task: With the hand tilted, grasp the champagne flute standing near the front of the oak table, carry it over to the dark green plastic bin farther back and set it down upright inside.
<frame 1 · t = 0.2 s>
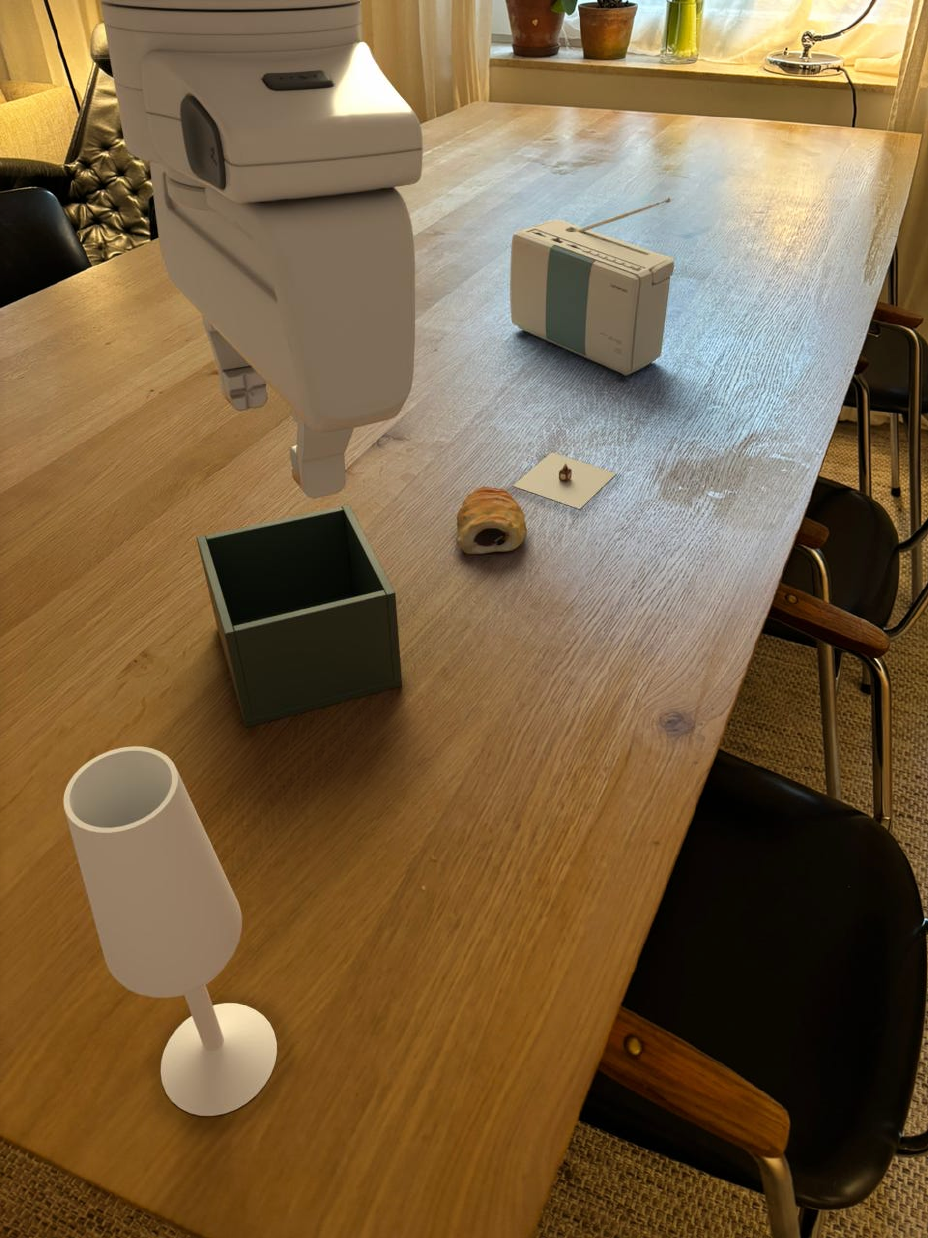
hand: (280, 443, 44), 34 cm above the table, tool pointing down, fingers open, 8 cm apart
beige flat slab: (564, 481, 105), on the table
radio: (585, 348, 129), on the table
champagne flute: (219, 1059, 58), on the table
bin: (306, 656, 84), on the table
pastry: (488, 534, 97), on the table
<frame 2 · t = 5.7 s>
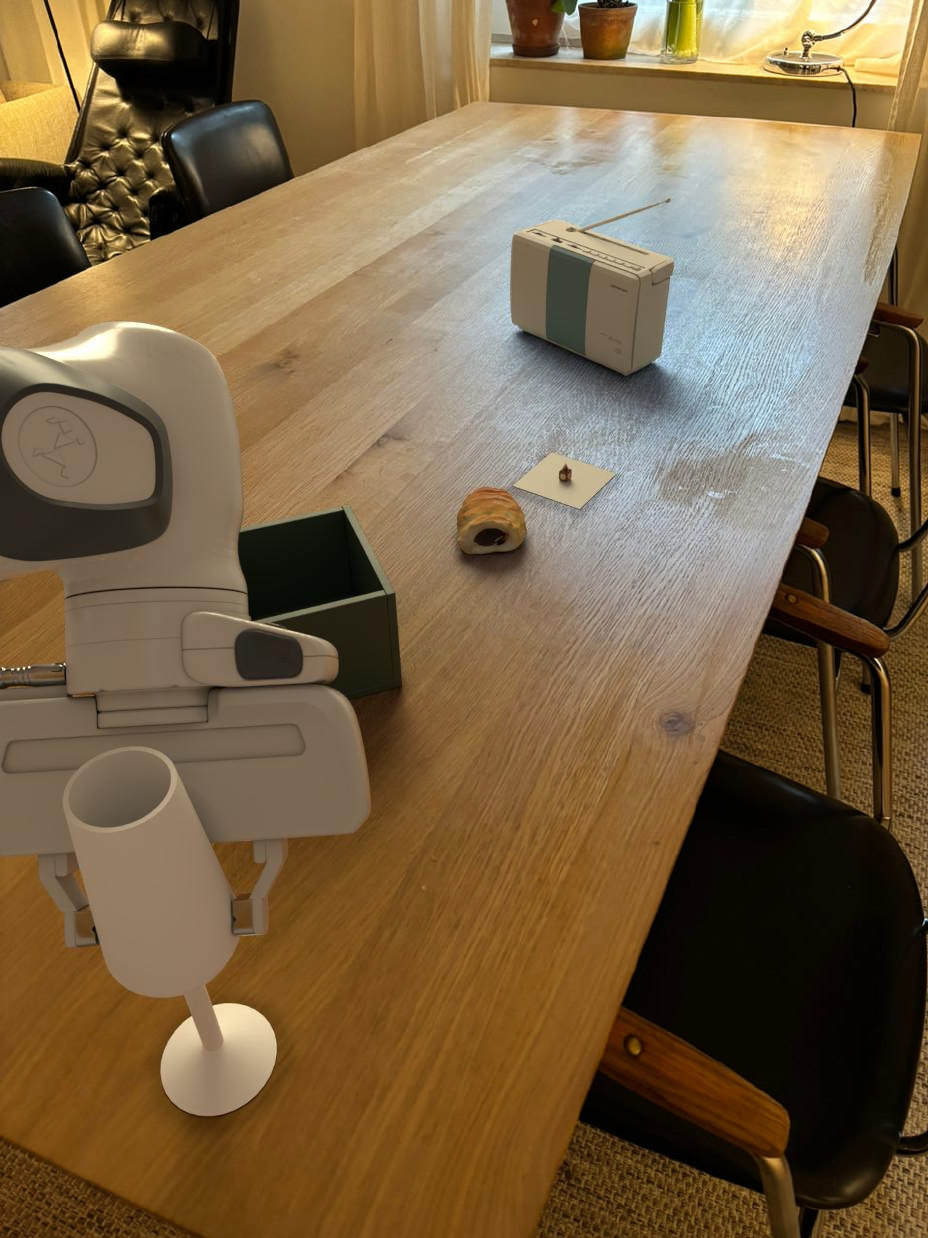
hand: (170, 939, 48), 13 cm above the table, tool tilted 45°, fingers closed on champagne flute, 6 cm apart
champagne flute: (219, 1059, 58), on the table, touching gripper
everything else where it was.
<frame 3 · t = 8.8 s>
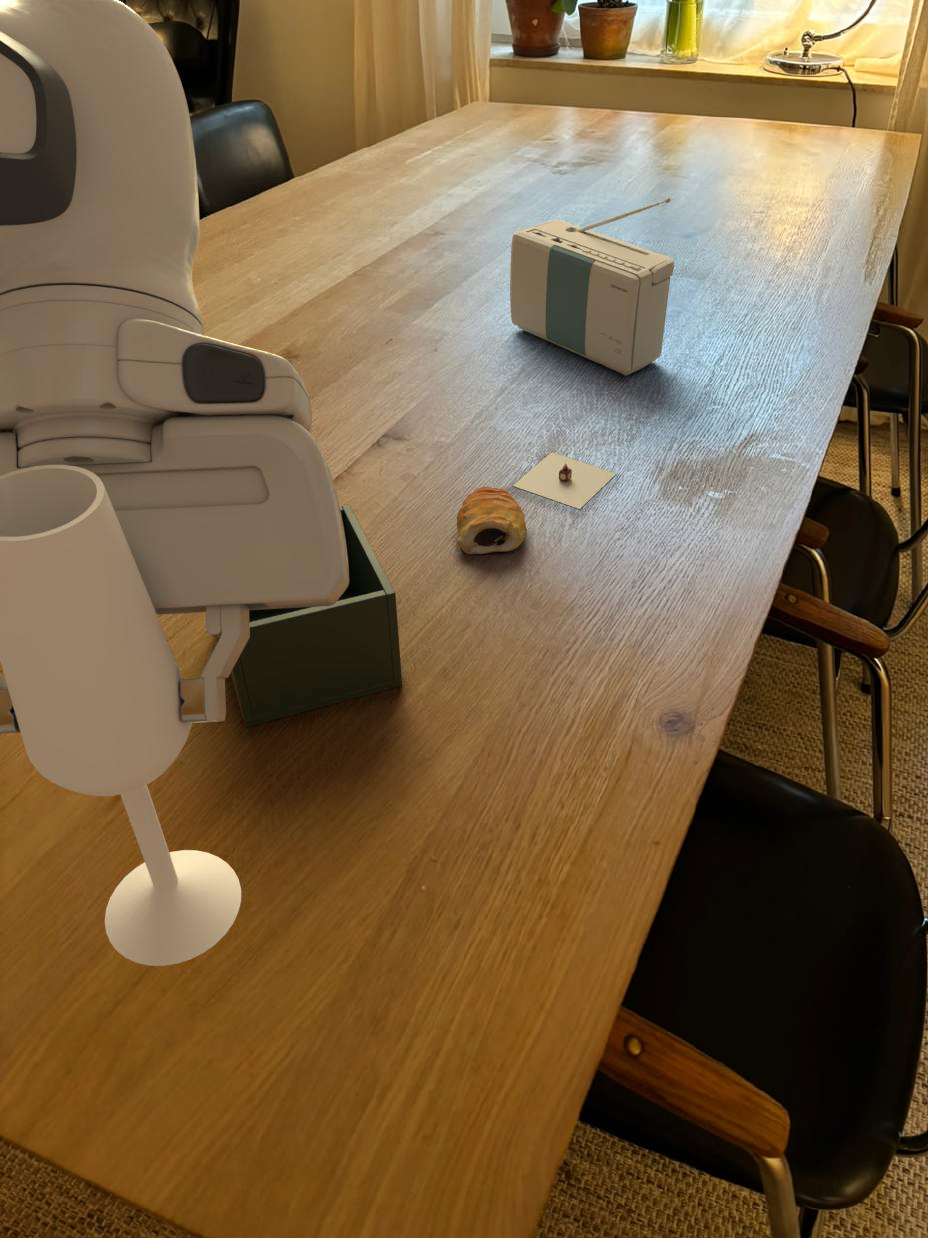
hand: (106, 728, 40), 27 cm above the table, tool tilted 45°, fingers closed on champagne flute, 6 cm apart
champagne flute: (174, 907, 50), point 14 cm above the table, touching gripper
everything else where it was.
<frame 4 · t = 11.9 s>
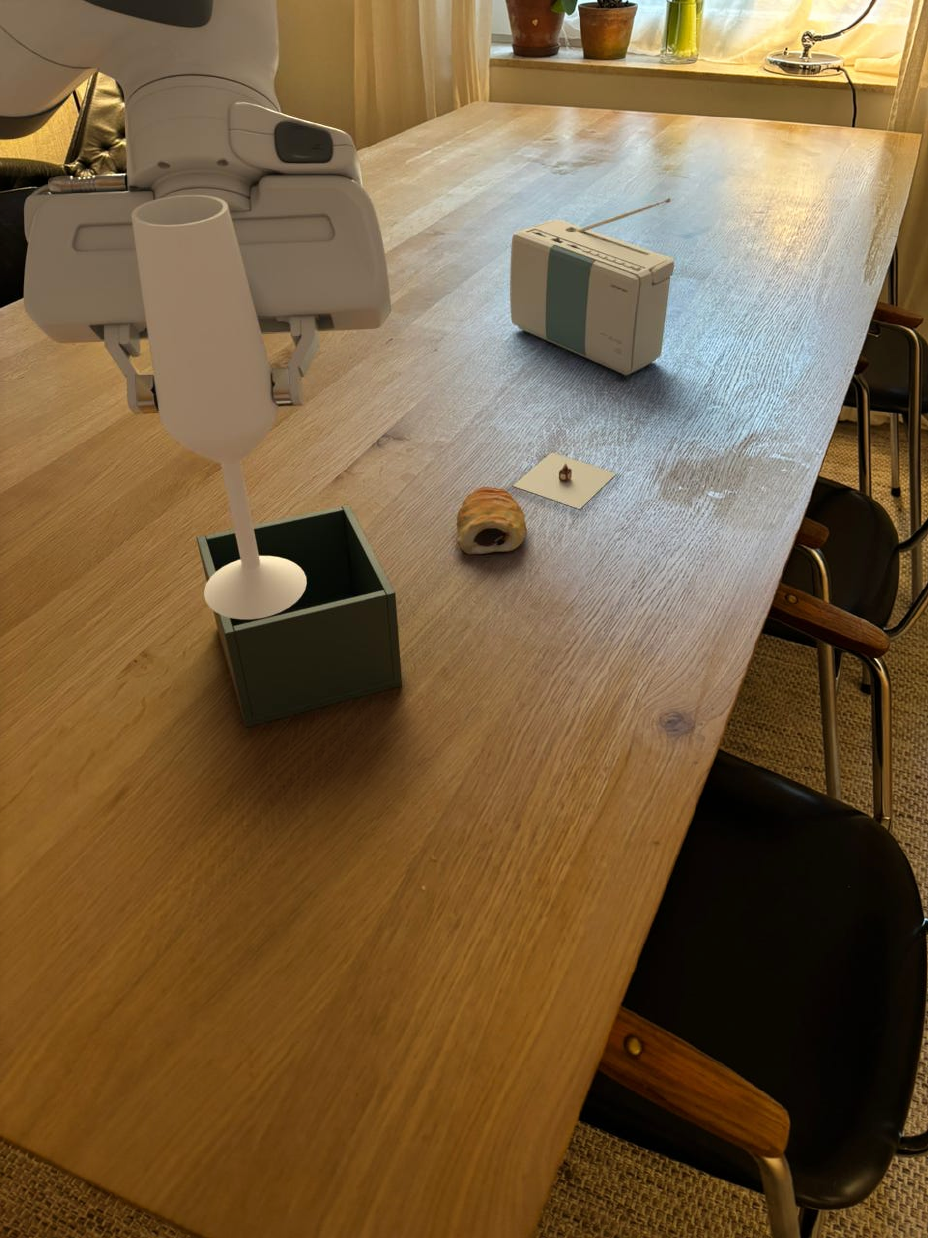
hand: (217, 407, 56), 30 cm above the table, tool tilted 45°, fingers closed on champagne flute, 6 cm apart
champagne flute: (256, 588, 65), point 16 cm above the table, touching gripper
everything else where it was.
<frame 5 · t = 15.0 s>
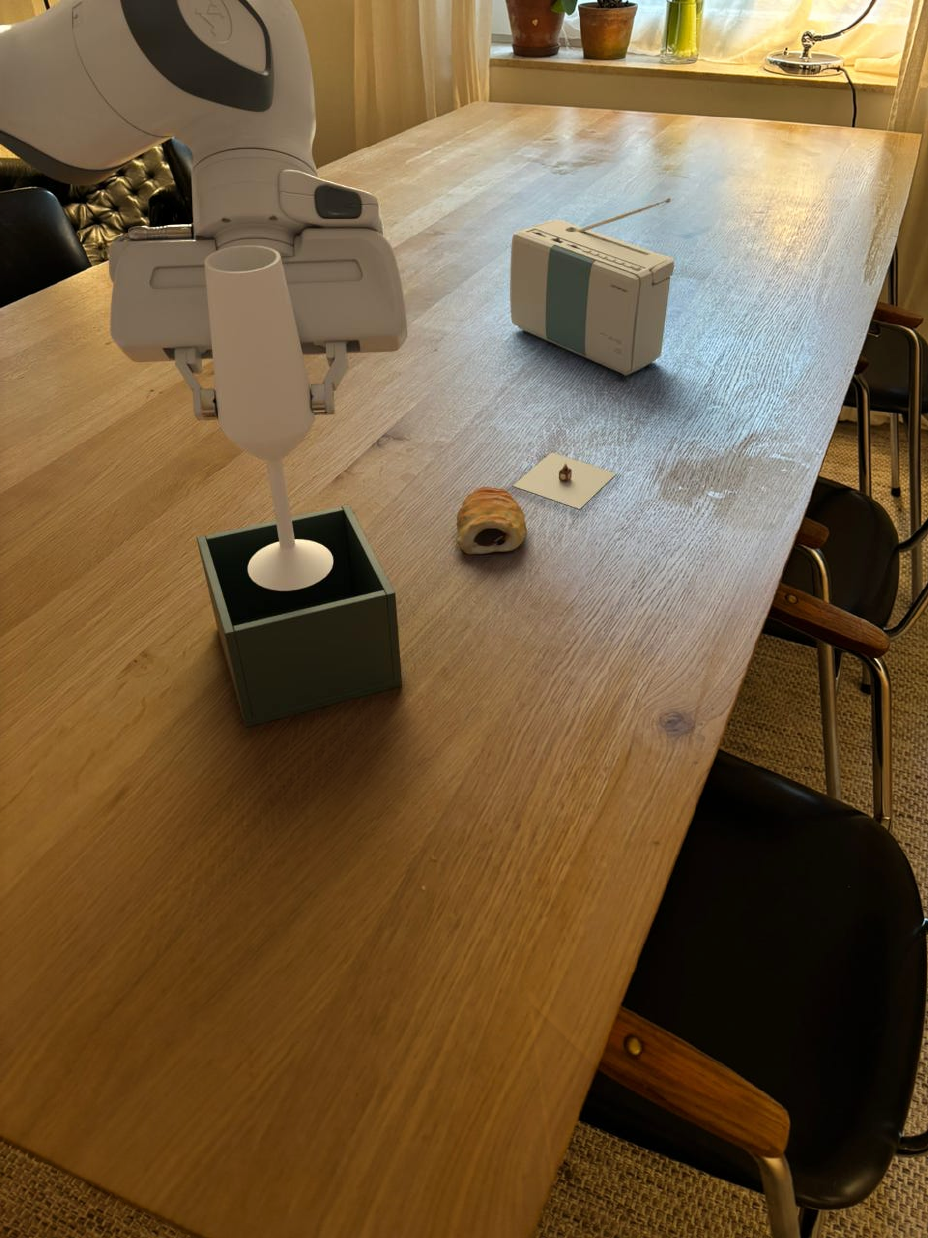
hand: (266, 415, 69), 23 cm above the table, tool tilted 45°, fingers closed on champagne flute, 6 cm apart
champagne flute: (291, 566, 78), point 10 cm above the table, touching gripper
everything else where it was.
when the fingers open (14 cm above the table, at t = 18.1 s): champagne flute stays where it is, resting on bin.
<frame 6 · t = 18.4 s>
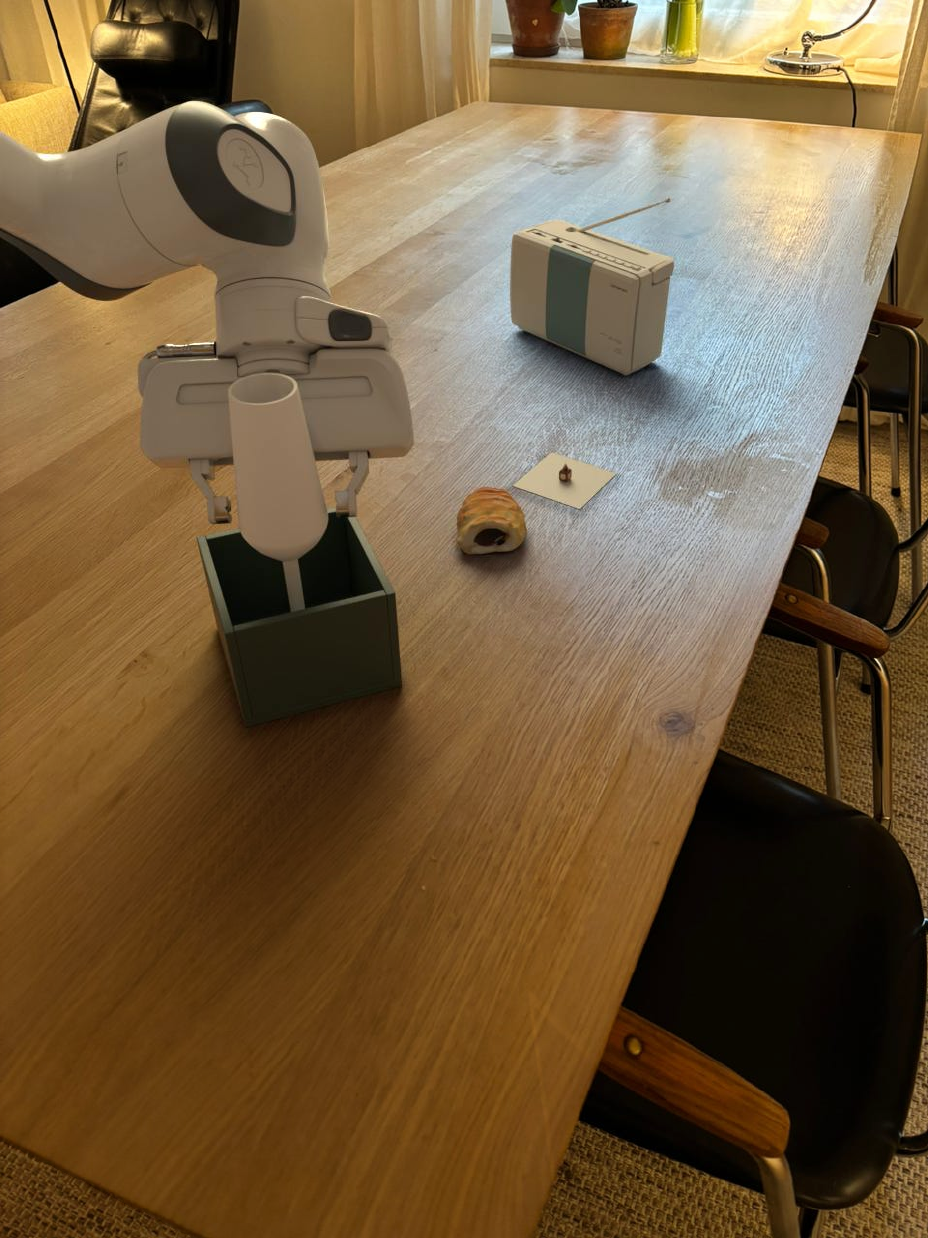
hand: (283, 519, 74), 14 cm above the table, tool tilted 45°, fingers open, 8 cm apart
champagne flute: (304, 650, 84), point 1 cm above the table, touching bin
everything else where it was.
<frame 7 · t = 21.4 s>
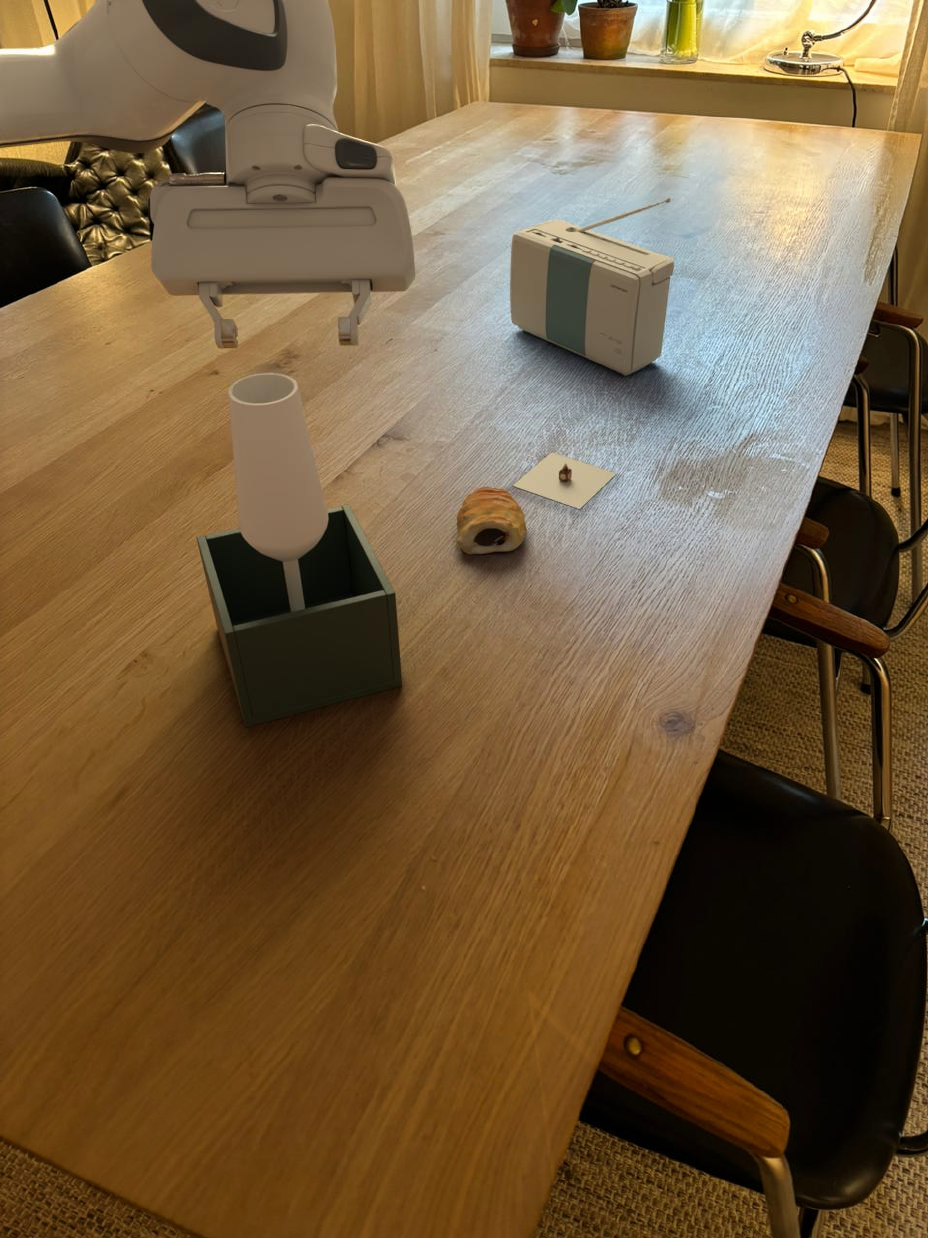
hand: (287, 344, 77), 23 cm above the table, tool tilted 45°, fingers open, 8 cm apart
nothing on the table moved.
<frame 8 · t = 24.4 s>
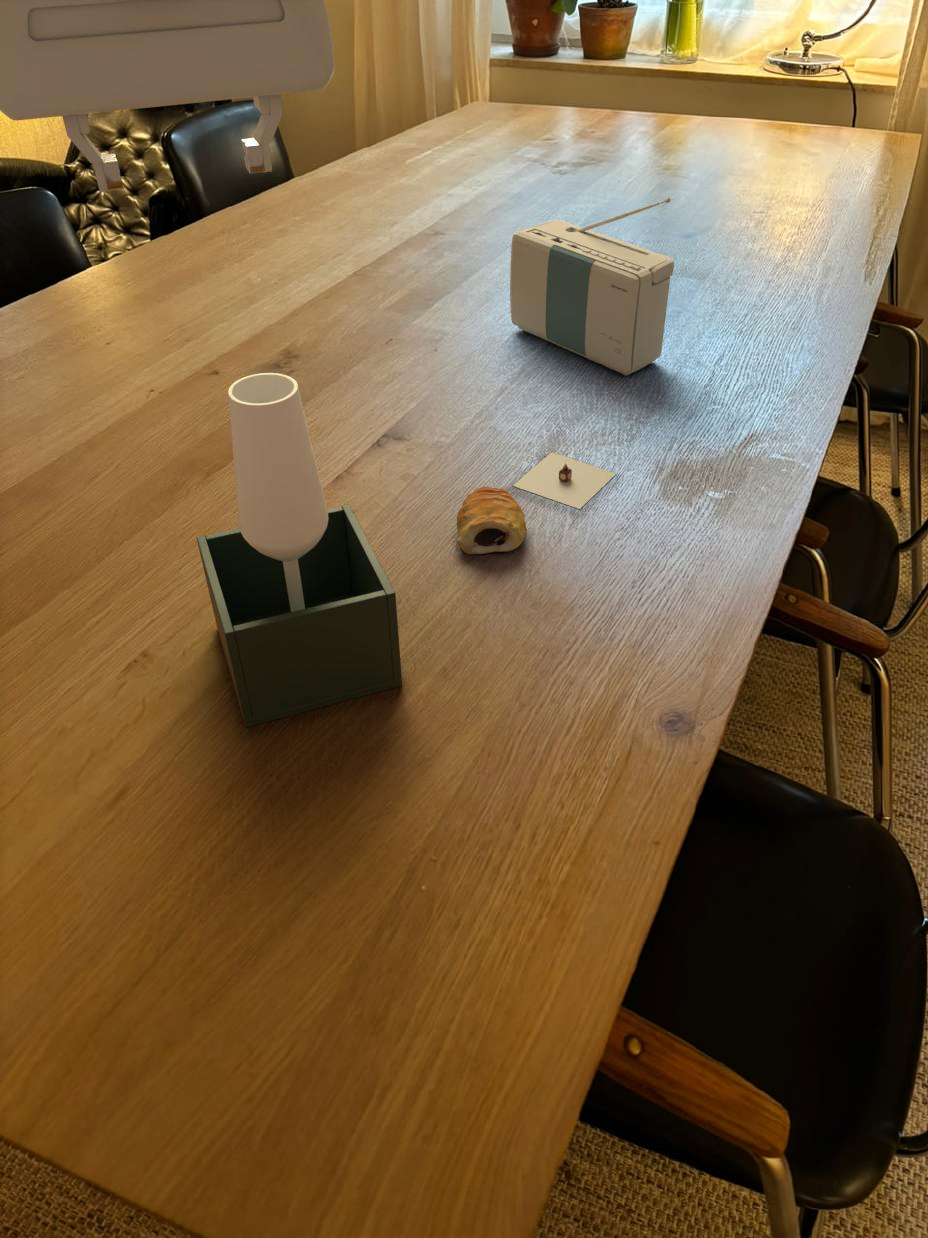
hand: (186, 179, 64), 37 cm above the table, tool pointing down, fingers open, 8 cm apart
nothing on the table moved.
at the end: champagne flute inside the target area in the bin (0.1 cm from its centre), point 0.6 cm above the bin's base; champagne flute tilted 0°; the gripper is holding nothing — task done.
